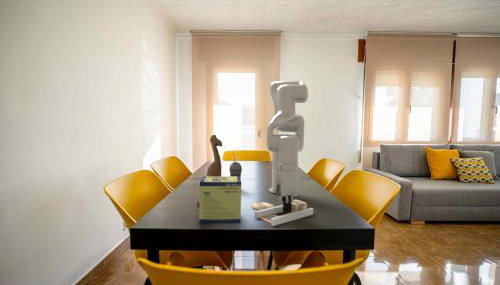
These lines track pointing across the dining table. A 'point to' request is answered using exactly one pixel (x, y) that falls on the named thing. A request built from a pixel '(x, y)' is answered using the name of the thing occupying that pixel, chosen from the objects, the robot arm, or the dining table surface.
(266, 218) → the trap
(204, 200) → the protein box
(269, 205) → the coaster
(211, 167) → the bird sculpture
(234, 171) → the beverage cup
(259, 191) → the dining table surface
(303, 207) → the block
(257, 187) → the dining table surface
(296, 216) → the channel
